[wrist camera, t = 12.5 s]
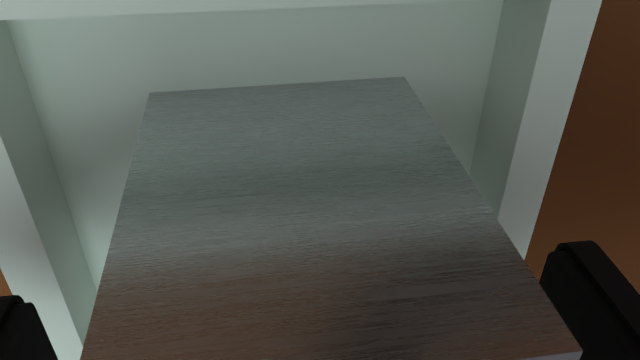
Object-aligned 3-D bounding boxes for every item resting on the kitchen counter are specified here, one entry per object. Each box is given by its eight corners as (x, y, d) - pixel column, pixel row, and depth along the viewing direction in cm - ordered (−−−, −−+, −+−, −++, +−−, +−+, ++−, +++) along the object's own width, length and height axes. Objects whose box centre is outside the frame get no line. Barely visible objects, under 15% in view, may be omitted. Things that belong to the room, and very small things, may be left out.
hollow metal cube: (404, 76, 12) (583, 350, 6) (386, 258, 15) (492, 557, 9) (149, 92, 12) (65, 416, 5) (187, 279, 15) (160, 614, 9)
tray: (552, -89, 11) (621, -65, 9) (463, 307, 18) (491, 368, 16) (-71, -74, 10) (-145, -43, 8) (90, 349, 17) (72, 422, 15)
